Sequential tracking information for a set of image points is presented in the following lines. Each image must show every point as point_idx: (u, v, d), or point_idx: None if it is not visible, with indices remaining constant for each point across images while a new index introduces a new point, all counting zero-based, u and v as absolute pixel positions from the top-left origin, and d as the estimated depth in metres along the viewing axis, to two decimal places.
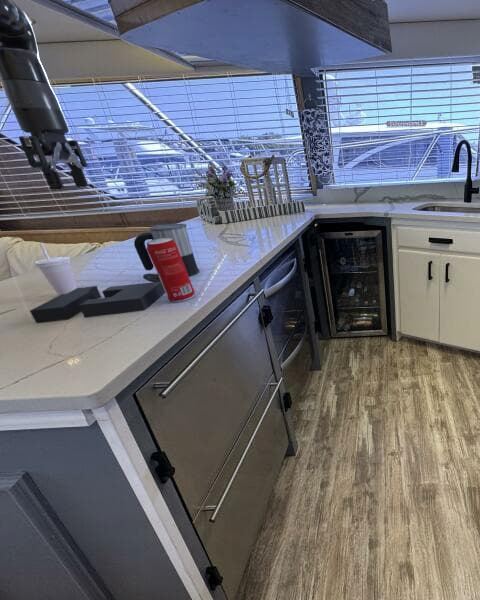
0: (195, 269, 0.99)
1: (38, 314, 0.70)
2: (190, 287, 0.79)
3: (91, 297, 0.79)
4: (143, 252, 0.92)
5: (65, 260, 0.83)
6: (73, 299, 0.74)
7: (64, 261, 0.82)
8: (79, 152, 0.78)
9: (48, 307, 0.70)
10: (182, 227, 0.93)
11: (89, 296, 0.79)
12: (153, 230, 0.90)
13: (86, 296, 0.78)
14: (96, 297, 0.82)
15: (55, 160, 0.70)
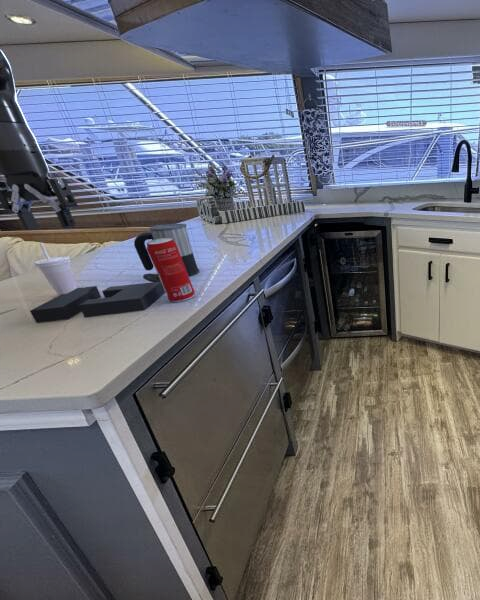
0: (195, 269, 0.99)
1: (38, 314, 0.70)
2: (190, 287, 0.79)
3: (91, 297, 0.79)
4: (143, 252, 0.92)
5: (65, 260, 0.83)
6: (73, 299, 0.74)
7: (64, 261, 0.82)
8: None
9: (48, 307, 0.70)
10: (182, 227, 0.93)
11: (89, 296, 0.79)
12: (153, 230, 0.90)
13: (86, 296, 0.78)
14: (96, 297, 0.82)
15: None
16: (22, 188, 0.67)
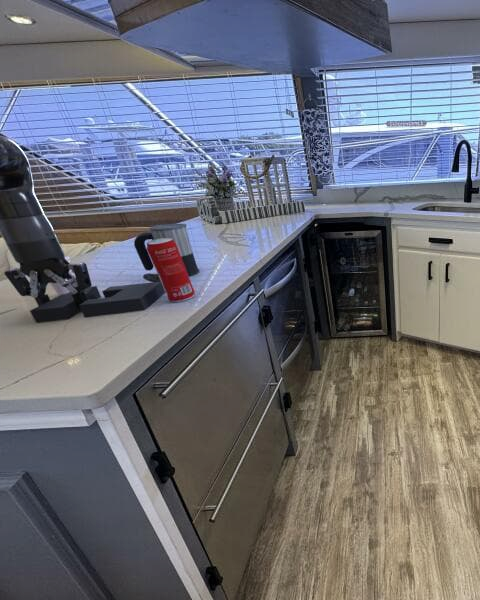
0: (195, 269, 0.99)
1: (38, 314, 0.70)
2: (190, 287, 0.79)
3: (91, 297, 0.79)
4: (143, 252, 0.92)
5: None
6: (73, 299, 0.74)
7: None
8: None
9: (48, 307, 0.70)
10: (182, 227, 0.93)
11: (89, 296, 0.79)
12: (153, 230, 0.90)
13: (86, 296, 0.78)
14: (96, 297, 0.82)
15: None
16: (39, 273, 0.70)
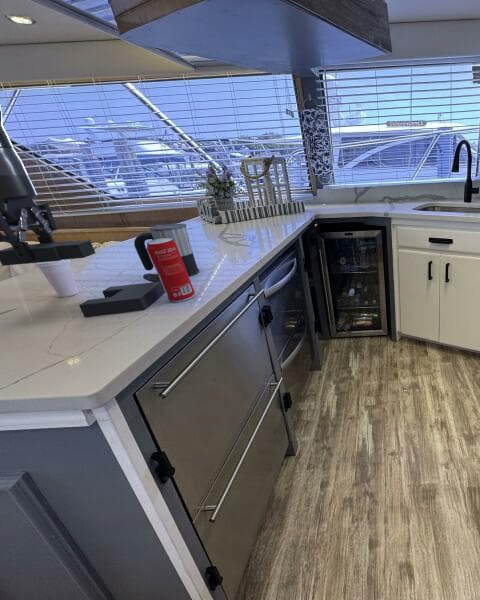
0: (195, 269, 0.99)
1: None
2: (190, 287, 0.79)
3: (51, 254, 0.68)
4: (143, 252, 0.92)
5: (65, 260, 0.83)
6: None
7: (64, 261, 0.82)
8: (49, 215, 0.72)
9: (11, 247, 0.68)
10: (182, 227, 0.93)
11: (49, 252, 0.68)
12: (153, 230, 0.90)
13: (42, 251, 0.67)
14: (73, 256, 0.70)
15: (23, 230, 0.65)
16: None
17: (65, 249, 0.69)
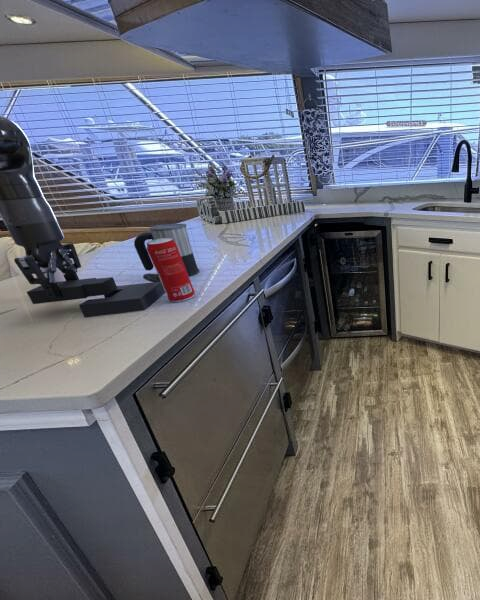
0: (195, 269, 0.99)
1: None
2: (190, 287, 0.79)
3: (78, 292, 0.73)
4: (143, 252, 0.92)
5: None
6: None
7: None
8: (74, 254, 0.77)
9: (40, 286, 0.73)
10: (182, 227, 0.93)
11: (76, 290, 0.72)
12: (153, 230, 0.90)
13: (69, 289, 0.72)
14: (98, 293, 0.74)
15: (52, 272, 0.70)
16: None
17: (90, 287, 0.74)
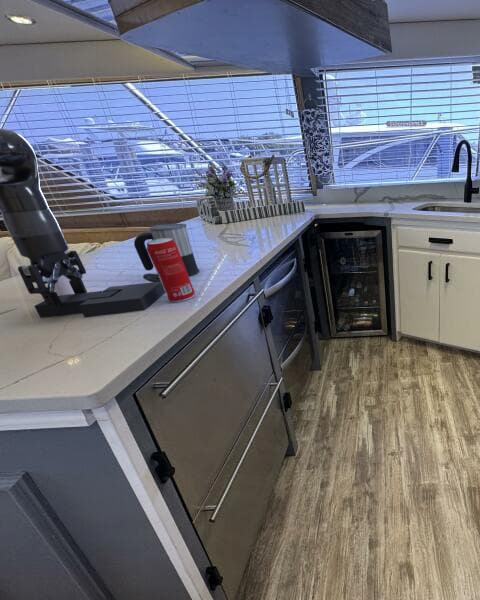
0: (195, 269, 0.99)
1: None
2: (190, 287, 0.79)
3: None
4: (143, 252, 0.92)
5: None
6: None
7: None
8: (78, 261, 0.78)
9: None
10: (182, 227, 0.93)
11: None
12: (153, 230, 0.90)
13: (76, 303, 0.73)
14: None
15: (54, 282, 0.70)
16: None
17: None
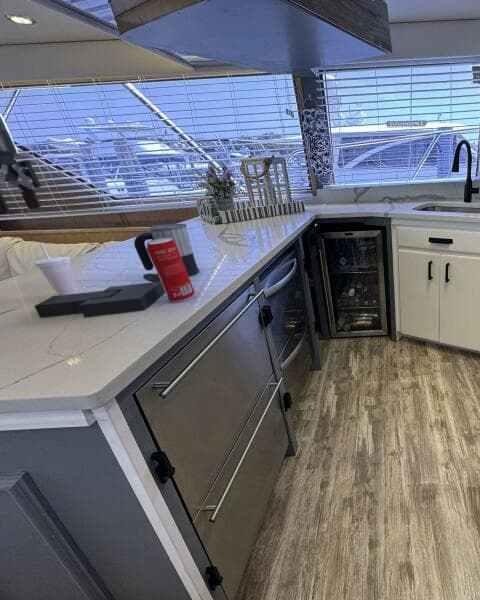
0: (195, 269, 0.99)
1: None
2: (190, 287, 0.79)
3: None
4: (143, 252, 0.92)
5: (65, 260, 0.83)
6: (59, 302, 0.73)
7: (64, 261, 0.82)
8: (31, 173, 0.74)
9: (48, 300, 0.74)
10: (182, 227, 0.93)
11: None
12: (153, 230, 0.90)
13: (76, 303, 0.73)
14: None
15: None
16: None
17: None
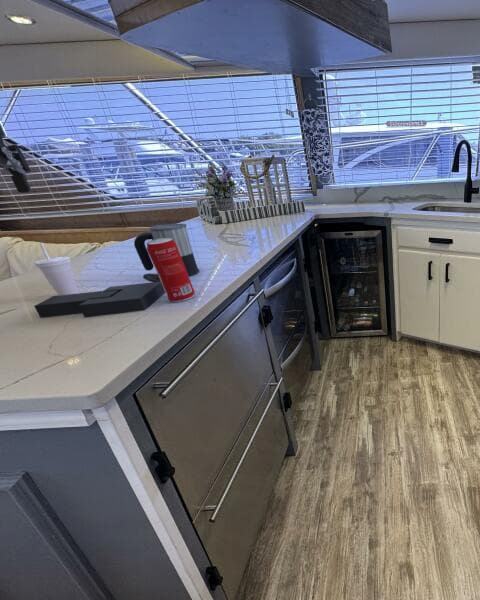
0: (195, 269, 0.99)
1: None
2: (190, 287, 0.79)
3: None
4: (143, 252, 0.92)
5: (65, 260, 0.83)
6: (59, 302, 0.73)
7: (64, 261, 0.82)
8: (21, 157, 0.75)
9: (48, 300, 0.74)
10: (182, 227, 0.93)
11: None
12: (153, 230, 0.90)
13: (76, 303, 0.73)
14: None
15: None
16: None
17: None
